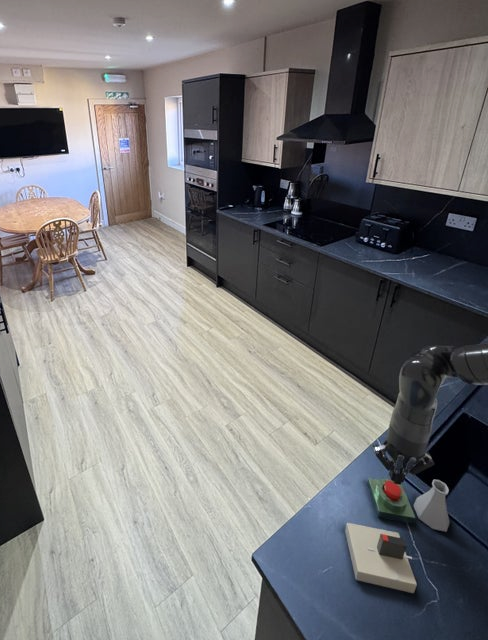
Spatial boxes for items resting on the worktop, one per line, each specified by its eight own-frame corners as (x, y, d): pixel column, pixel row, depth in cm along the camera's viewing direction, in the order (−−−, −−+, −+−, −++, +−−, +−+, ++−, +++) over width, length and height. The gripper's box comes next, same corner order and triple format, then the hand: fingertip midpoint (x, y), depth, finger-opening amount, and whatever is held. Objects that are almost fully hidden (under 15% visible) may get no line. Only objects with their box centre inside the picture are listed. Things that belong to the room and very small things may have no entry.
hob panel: (400, 542, 74) (403, 533, 73) (418, 594, 65) (422, 585, 64) (344, 530, 76) (346, 521, 75) (355, 580, 68) (358, 570, 67)
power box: (399, 489, 85) (403, 478, 83) (413, 524, 77) (417, 513, 76) (367, 483, 86) (369, 473, 85) (377, 517, 79) (380, 506, 77)
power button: (396, 486, 82) (398, 482, 81) (402, 502, 78) (404, 497, 78) (381, 484, 82) (382, 479, 82) (386, 499, 79) (387, 494, 79)
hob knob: (399, 551, 70) (404, 537, 68) (402, 559, 68) (407, 545, 67) (376, 546, 71) (380, 532, 69) (378, 554, 69) (382, 540, 68)
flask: (412, 493, 84) (420, 465, 80) (447, 508, 80) (457, 480, 77) (414, 520, 78) (423, 492, 75) (451, 538, 74) (462, 509, 71)
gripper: (434, 418, 76) (418, 470, 81) (372, 409, 78) (361, 461, 84) (452, 447, 69) (433, 502, 74) (384, 437, 71) (371, 491, 77)
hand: (395, 480), depth 79 cm, fingers closed
